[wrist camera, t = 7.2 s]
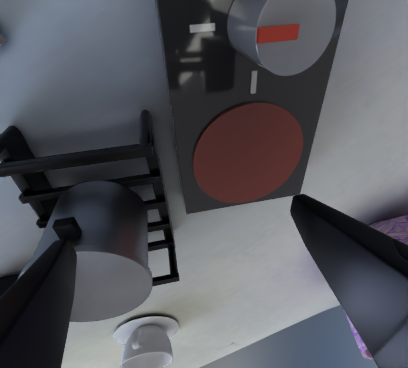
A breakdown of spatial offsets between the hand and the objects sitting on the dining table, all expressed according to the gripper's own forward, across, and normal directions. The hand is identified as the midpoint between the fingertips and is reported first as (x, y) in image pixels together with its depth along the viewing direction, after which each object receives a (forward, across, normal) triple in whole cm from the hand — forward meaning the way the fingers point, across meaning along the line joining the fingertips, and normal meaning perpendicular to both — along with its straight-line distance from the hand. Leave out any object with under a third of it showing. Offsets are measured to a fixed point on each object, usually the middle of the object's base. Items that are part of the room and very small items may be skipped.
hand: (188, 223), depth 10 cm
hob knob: (+9, -6, -6) cm, 12 cm away
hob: (+11, -6, -1) cm, 13 cm away
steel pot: (+9, +6, +6) cm, 12 cm away
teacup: (+12, +8, +34) cm, 37 cm away
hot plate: (+9, -6, +3) cm, 11 cm away
